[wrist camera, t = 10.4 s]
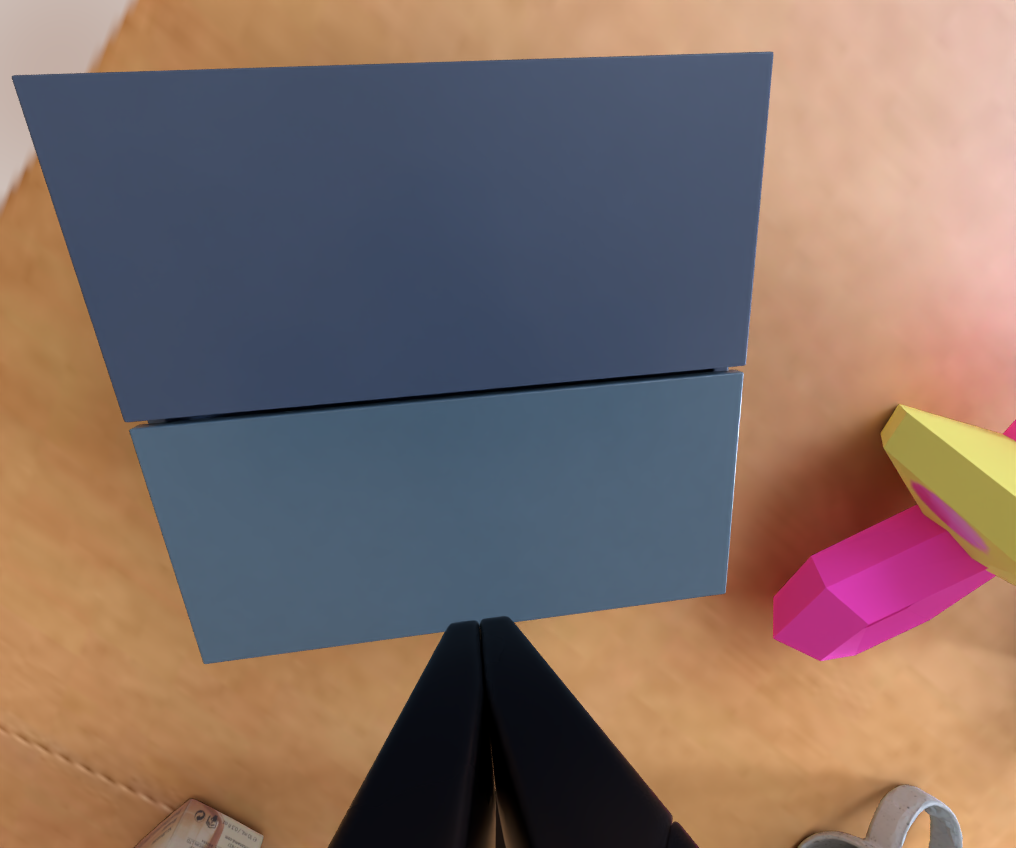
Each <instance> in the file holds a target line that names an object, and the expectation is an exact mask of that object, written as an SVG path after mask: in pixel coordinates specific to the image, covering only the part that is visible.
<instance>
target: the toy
mask: <svg viewBox="0 0 1016 848" xmlns="http://www.w3.org/2000/svg"><path fill="white" fill-rule="evenodd" d="M880 434H881V438H882V443H883V448H884V449H885V451H886V453H887V454H888V456H889V458H890V459H891V461H892V463H893V464H894V466H895V468H896V469H897V471H898V473H899V474H900V476H901V478H902V479H903V481H904V483H905V484H906V486H907V488H908V489H909V491H910V493H911V494H912V496H913V498H914V499H915V501H916V503H917V505H914V506H912V507H910V508H908V509H906V510H904V511H902V512H900V513H898V514H896V515H894V516H892V517H890V518H888V519H886V520H884V521H882V522H880V523H877V524H875V525H873V526H871V527H869V528H867V529H865V530H863V531H861V532H859V533H857V534H855V535H853V536H851V537H849V538H847V539H845V540H843V541H841V542H838V543H836V544H834V545H832V546H830V547H828V548H826V549H824V550H822V551H820V552H818V553H816V554H814V555H812V556H810V558H809V559H808V560H807V561H806V562H805V563H804V564H803V565H802V566H801V567H800V568H799V570H798V571H797V572H796V573H795V574H794V575H793V576H792V577H791V578H790V579H789V580H788V582H787V583H786V584H785V585H784V586H783V587H782V588H781V589H780V590H779V591H778V593H777V594H776V595H775V596H774V597H773V639H775V640H777V641H779V642H781V643H784V644H786V645H788V646H790V647H792V648H794V649H796V650H798V651H800V652H803V653H805V654H807V655H809V656H811V657H813V658H815V659H817V660H819V661H823V660H829V659H835V658H841V657H847V656H853V655H857V654H859V653H861V652H863V651H865V650H867V649H869V648H871V647H873V646H876V645H878V644H880V643H882V642H884V641H886V640H888V639H890V638H893V637H895V636H897V635H899V634H901V633H903V632H905V631H907V630H910V629H912V628H914V627H916V626H918V625H920V624H922V623H924V622H926V621H929V620H930V619H932V618H933V617H935V616H936V615H938V614H939V613H941V612H942V611H944V610H945V609H947V608H948V607H950V606H951V605H953V604H954V603H956V602H957V601H959V600H960V599H962V598H963V597H965V596H966V595H968V594H969V593H971V592H972V591H974V590H975V589H977V588H978V587H980V586H981V585H983V584H984V583H986V582H987V581H989V580H990V579H992V578H993V577H995V576H998V577H1000V578H1002V579H1004V580H1005V581H1007V582H1009V583H1011V584H1013V585H1015V586H1016V420H1015V421H1014V422H1013V423H1012V424H1011V425H1010V426H1009V427H1008V429H1007V430H1006V431H1005V432H1004V433H1003V434H1001V433H997V432H994V431H990V430H987V429H983V428H980V427H977V426H973V425H970V424H966V423H963V422H959V421H956V420H952V419H949V418H946V417H942V416H939V415H935V414H932V413H928V412H925V411H921V410H918V409H915V408H911V407H908V406H904V405H901V404H898V406H897V408H896V409H895V411H894V412H893V414H892V416H891V417H890V419H889V420H888V422H887V424H886V425H885V427H884V428H883V430H882V432H881V433H880Z"/></svg>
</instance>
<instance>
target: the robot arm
mask: <svg viewBox="0 0 1016 848" xmlns="http://www.w3.org/2000/svg"><path fill="white" fill-rule="evenodd" d="M480 635H481V636H480ZM491 750H492V751H491ZM492 760H493V762H492ZM493 770H494V773H493ZM494 780H495V786H494ZM495 788H496V791H495ZM328 848H699V847H698V846H697V844H696V843H695V842H694V841H693V840H692V838H691V837H690V836H689V835H688V833H687V832H686V831H685V830H684V829H683V827H682V826H681V825H680V824H679V823H678V822H673V823H672V815H671V813H670V812H669V811H668V810H667V808H666V807H665V806H664V805H663V804H662V802H661V801H660V800H659V799H658V797H657V796H656V795H655V794H654V793H653V791H652V790H651V789H650V788H649V786H648V785H647V784H646V783H645V782H644V780H643V779H642V778H641V777H640V776H639V774H638V773H637V772H636V771H635V769H634V768H633V767H632V766H631V765H630V763H629V762H628V761H627V760H626V758H625V757H624V756H623V755H622V754H621V752H620V751H619V750H618V749H617V748H616V746H615V745H614V744H613V743H612V741H611V740H610V739H609V738H608V737H607V735H606V734H605V733H604V732H603V730H602V729H601V728H600V727H599V726H598V724H597V723H596V722H595V721H594V720H593V718H592V717H591V716H590V715H589V713H588V712H587V711H586V710H585V709H584V707H583V706H582V705H581V704H580V702H579V701H578V700H577V699H576V698H575V696H574V695H573V694H572V693H571V692H570V690H569V689H568V688H567V687H566V685H565V684H564V683H563V682H562V681H561V679H560V678H559V677H558V676H557V674H556V673H555V672H554V671H553V670H552V668H551V667H550V666H549V665H548V664H547V662H546V661H545V660H544V659H543V657H542V656H541V655H540V654H539V653H538V651H537V650H536V649H535V648H534V646H533V645H532V644H531V643H530V642H529V640H528V639H527V638H526V637H525V636H524V634H523V633H522V632H521V631H520V629H519V628H518V627H517V626H516V625H515V623H514V622H513V621H512V620H511V619H510V618H509V617H507V616H500V617H492V618H485V619H482V620H481V622H480V626H479V623H478V621H476V620H470V621H462V622H455V623H451V624H450V625H449V626H448V627H447V629H446V631H445V633H444V635H443V636H442V638H441V640H440V642H439V644H438V646H437V647H436V649H435V651H434V653H433V655H432V657H431V659H430V660H429V662H428V664H427V666H426V668H425V670H424V671H423V673H422V675H421V677H420V679H419V681H418V682H417V684H416V686H415V688H414V690H413V692H412V693H411V695H410V697H409V699H408V701H407V703H406V705H405V706H404V708H403V710H402V712H401V714H400V716H399V717H398V719H397V721H396V723H395V725H394V727H393V728H392V730H391V732H390V734H389V736H388V738H387V739H386V741H385V743H384V745H383V747H382V749H381V751H380V752H379V754H378V756H377V758H376V760H375V762H374V763H373V765H372V767H371V769H370V771H369V773H368V774H367V776H366V778H365V780H364V782H363V784H362V785H361V787H360V789H359V791H358V793H357V795H356V797H355V798H354V800H353V802H352V804H351V806H350V808H349V809H348V811H347V813H346V815H345V817H344V819H343V820H342V822H341V824H340V826H339V828H338V830H337V831H336V833H335V835H334V837H333V839H332V841H331V843H330V844H329V846H328Z"/></svg>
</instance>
